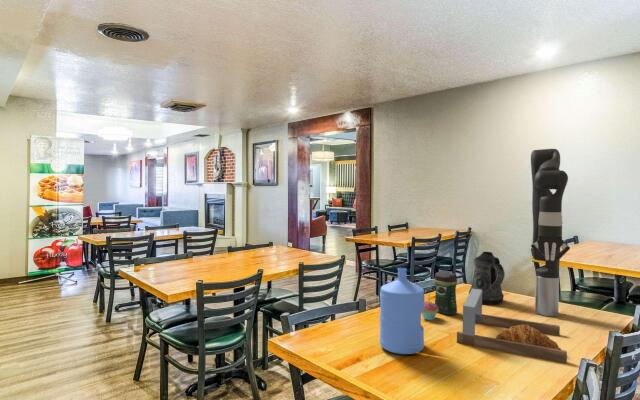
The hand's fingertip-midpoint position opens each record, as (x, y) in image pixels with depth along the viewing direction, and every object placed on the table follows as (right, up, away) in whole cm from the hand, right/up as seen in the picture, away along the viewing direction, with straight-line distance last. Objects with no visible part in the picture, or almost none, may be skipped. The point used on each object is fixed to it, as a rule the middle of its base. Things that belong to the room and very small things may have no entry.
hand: (549, 269), depth 140 cm
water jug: (-57, -27, -6) cm, 63 cm away
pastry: (-12, -27, -6) cm, 30 cm away
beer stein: (0, -26, +51) cm, 57 cm away
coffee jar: (-28, -26, +32) cm, 50 cm away
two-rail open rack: (-13, -27, +1) cm, 30 cm away
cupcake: (-38, -26, +24) cm, 52 cm away
